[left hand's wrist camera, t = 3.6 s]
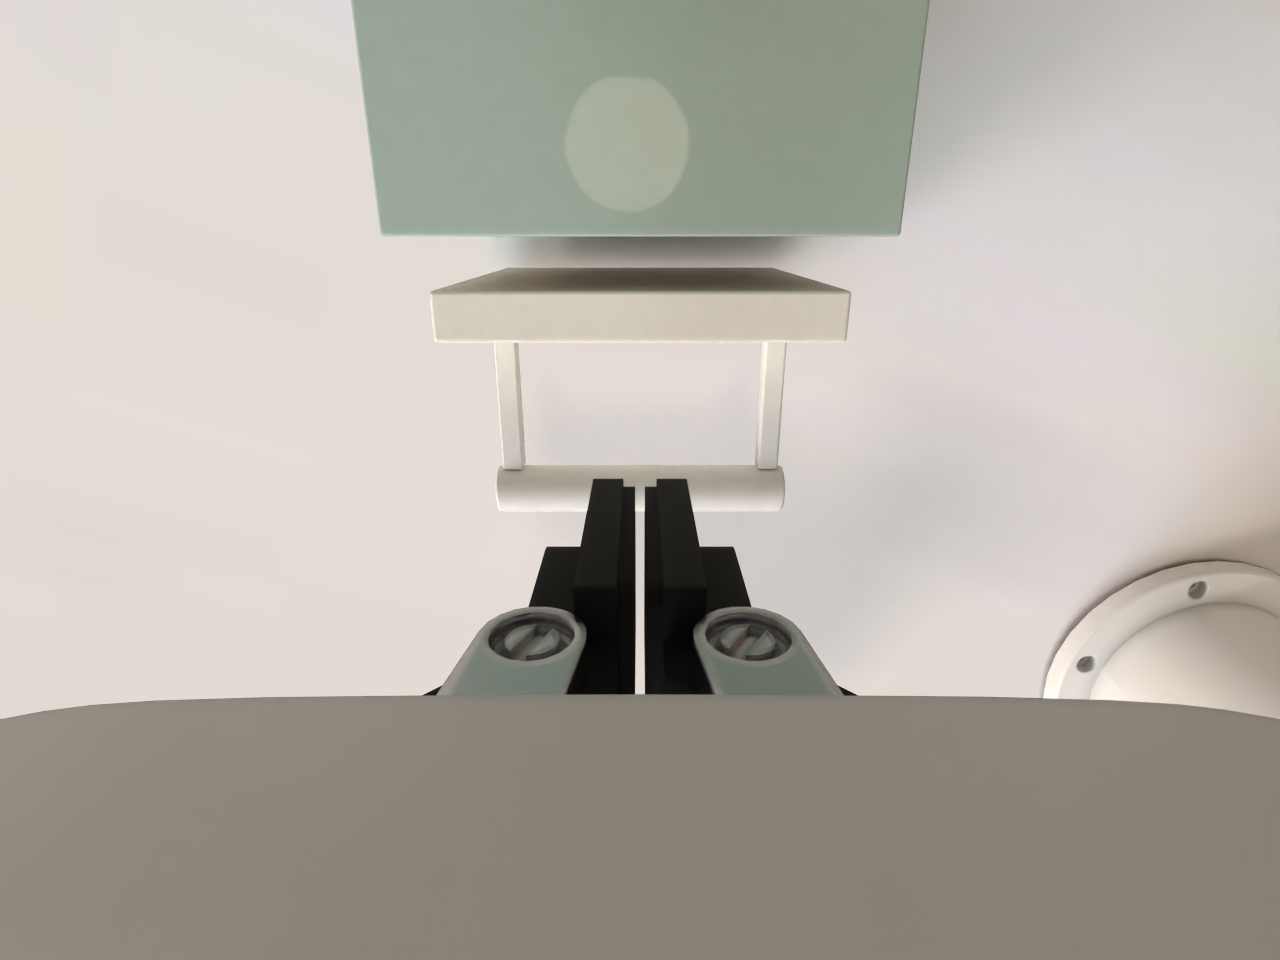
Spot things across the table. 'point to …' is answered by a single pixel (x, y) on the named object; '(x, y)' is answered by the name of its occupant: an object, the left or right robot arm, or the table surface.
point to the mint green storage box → (640, 115)
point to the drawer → (640, 314)
